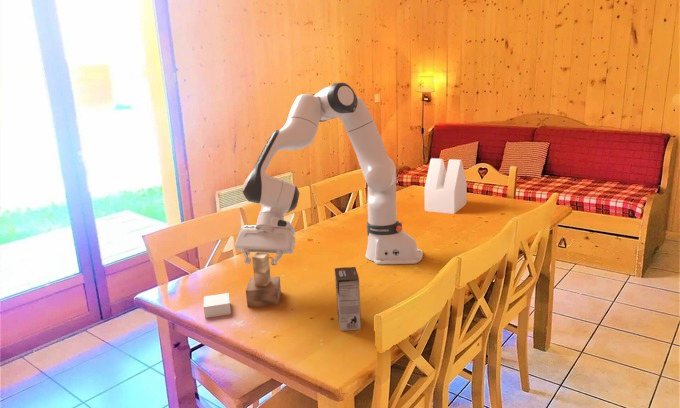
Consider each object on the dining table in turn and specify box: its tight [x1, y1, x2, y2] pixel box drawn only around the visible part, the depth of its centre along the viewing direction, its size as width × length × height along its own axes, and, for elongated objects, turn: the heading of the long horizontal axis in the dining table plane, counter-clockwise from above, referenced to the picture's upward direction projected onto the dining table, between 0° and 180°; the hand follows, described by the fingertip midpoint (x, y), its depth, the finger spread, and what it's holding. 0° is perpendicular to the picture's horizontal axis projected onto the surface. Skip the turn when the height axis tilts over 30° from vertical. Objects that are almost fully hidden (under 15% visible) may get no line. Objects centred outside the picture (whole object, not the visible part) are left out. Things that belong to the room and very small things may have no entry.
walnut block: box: [245, 276, 282, 308], centre depth 173 cm, size 10×10×6 cm
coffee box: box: [334, 266, 362, 332], centre depth 153 cm, size 9×6×16 cm
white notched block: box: [423, 157, 468, 215], centre depth 264 cm, size 19×15×25 cm
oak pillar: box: [251, 252, 271, 286], centre depth 171 cm, size 4×4×10 cm
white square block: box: [203, 292, 232, 319], centre depth 168 cm, size 8×8×4 cm
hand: (260, 263), depth 170 cm, fingers open, 8 cm apart
